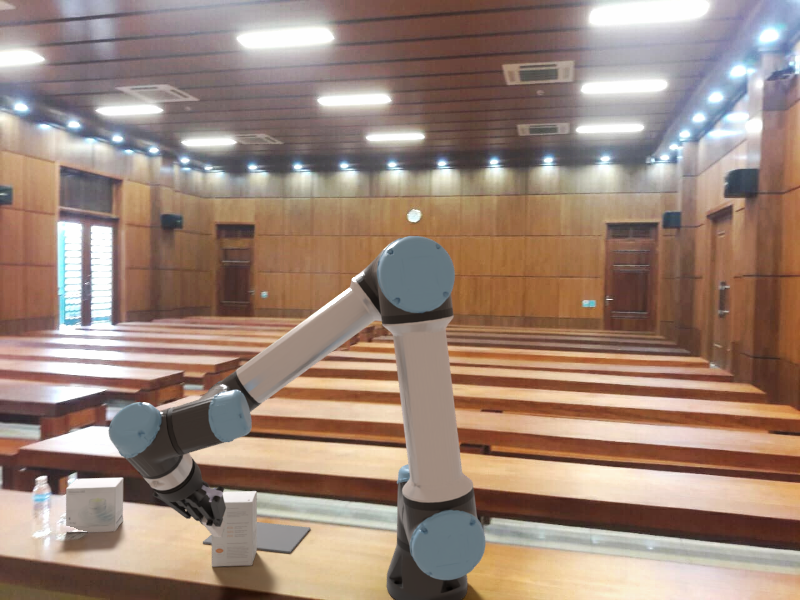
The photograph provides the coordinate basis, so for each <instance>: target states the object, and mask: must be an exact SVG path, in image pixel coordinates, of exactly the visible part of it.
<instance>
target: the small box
mask: <svg viewBox="0 0 800 600" xmlns="http://www.w3.org/2000/svg"><path fill="white" fill-rule="evenodd" d="M257 497H258V496H257V491H256V490H252V491H250V490H247V491H243V490H242V491H223V498H224V502H225V506H226V510H225V513H224V515H223V521H224V522H225V526H224V529H223V531H222V534H221V537H214V536H213V535H212V534H211V535H212V544H211V567H212V568H213V567H216V568H217V567H238V566H239V567H240V566H253V563H254V560H255V558H256V554H257V551H258V550H257V522H258V517H257V516H258V515H257V513H258V510H257V509H258V502H257V500H258V498H257Z"/></svg>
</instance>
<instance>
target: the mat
mask: <svg viewBox="0 0 800 600" xmlns="http://www.w3.org/2000/svg"><path fill="white" fill-rule="evenodd" d="M308 531H311V527H307V526H301V525H290V524H288V525H287V524H279V523H270V522H262V521H257V551H266V552H268V551H269V552H275V553H282V554H283V553H284V554H285V553H286V554H291V553H292V552H293V551H294V550H295V548H296V547H297V546H298V545H299V544H300V543H301V541H302V540H303V539H304V538H305V536H306V535H307V534H308V533H309V532H308ZM202 544H203V545H204V544H205V545H212V534H210V535H209V536H208V537H206V538H205V539H204V540H203V541H202Z"/></svg>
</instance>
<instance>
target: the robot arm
mask: <svg viewBox="0 0 800 600" xmlns="http://www.w3.org/2000/svg"><path fill="white" fill-rule="evenodd" d="M455 273H456V271H455V267H454V262H453V259H452V258H451V256H450V254H449V253H448V251H447V250H446V249H445V248H444V247H443V246H442V245H441V244H440V243H438V242H436V240H433V239H432V238H428V237H425V236H420V235H408V236H405V237H400V238H399V237H398V238H397V239H395V240H393V241H391V242H390V243H389V244H387V246H386V247H385V248H383V249H382V250H381V251H380V253H379V254H378V255H377V256H376V257H375V258H374V259H373V260H372V261H371V262H370V264H368V265H367V266H366V267H365V268H364V269H363V270H361V271H360V272H359V273H358V274H356V275H355V276H354V277H352V278H351V281H350V285H349V287H348V288H347V289H346V290H344V291H343V292H341V293H340V294H338V295H337V296H336V297H334V298H333V299H332V300H330V301H329V302H327V303H326V304H325V305H323V306H322V307H320V309H318V310H316V311H315V312H314V313H312V314H311V315H310V316H308V317H307V318H305V319H304V320H303V321H301V322H300V323H299V324H297V325H296V326H295V327H293V328H292V329H290V330H289V331H288V332H286V333H285V334H283V335H282V336H281V337H280V338H279V339H277V340H275V341H274V342H272V344H270V345H268V346H267V347H265V349H263V350H262V351H260V352H259V353H258V354H256V355H255V356H254V357H252V358H250V360H248V361H246V362H245V363H243V364H242V365H241V366H240V367H238V368H237V369H236V370H235V371H234V372H232V373H230V374H229V375H227V376H226V377H225V378H223V379H222V380H220V381H218V382H216V383H215V384H214V385H212V386H211V387H210V388H209V389H208V391H207V392H206V393H204V394H203V395H202V396H201V397H200V398H199V399H197V400H196V399H195V400H194V401H190V402H186V403H183V404H181V405H177V406H173V407H168V408H165V409H162V410H159V409H158V408H157V407H155V406H154V405H153V404H151V403H150V402H140V401H139V402H133V403H130V404H128V405H125V406H124V407H123V408H122V409H121V410H119V411H118V412H117V413H116V414H115V415H114V416H113V418H112V420H111V421H110V424H109V428H108V435H109V440H110V441H111V443H112V444H113V445H114V447H115V448H116V449H117V452H118V453H119V455H120V456H121V457H123V458H124V459H125V460H126V461H127V462H128V463H129V464H130V465H132V467H133V468H134V469H135V470H136V471H137V473H138V474H139V475H140V476H141V477H142V478H143V479H144V480H145V481H146V482H147V484H149V487H150V488H151V489H152V490H153V493H152V496H153V497H154V498H155V499H156V498H157V499H158V500H161V501H162V502H163V503H165V504H167V506H169V507H170V508H171V509H173V510H174V511H175V512H177V513H178V514H180V515H181V516H182V517H183V518H185V519H186V520H187V519H188V520H189V519H191V518H193V519H194V521H197V522H199V523H200V524H201V525H202V526H204V528H205V529H206V530H207V531H208V532H209V534H210V535H213V536H214V537H221V534H222V531H223V529H224V526H225V522H224V521H223V515H224V513H225V510H226V506H225V502H224V498H223V492H225V487H223V486H220V485H219V486H217V487H210V485H209V483H208V482H206V481H205V480H204V479H203V477H202V471H201V468H200V466H199V465H198V463H197V462H196V461H195V459H194V458H193V457H192V455H191V454H190V453H194V452H196V451H199V450H204V449H207V448H211V447H214V446H218V445H221V444H224V443H225V444H226V443H231V442H233V441H235V440H237V439H240V438H241V437H244V436H247V435H249V433H250V432H252V431H251V430H252V416H251V415H252V411H254V410H255V409H256V408H258V407H259V406H261V405H262V403H264V402H265V401H267V400H269V399H270V398H271V397H273V396H274V395H275V394H277V393H278V392H280V391H281V390H282V389H283V388H285V387H286V386H287V385H289V384H290V383H292V382H293V381H294V380H295V379H298V377H300V376H301V375H302V374H304V373H305V372H306V371H308V370H310V369H311V368H312V367H313V366H315V365H317V363H319V362H320V361H322V360H323V359H325V358H326V357H327V356H328V355H330V354H332V353H333V352H334V351H335V350H337V349H338V348H340V347H341V346H342V345H343V344H345V343H346V342H347V341H349V340H350V339H352V338H353V337H355V335H358V333H360V332H361V331H363V330H365V328H367V327H368V326H369V325H371V324H372V323H373V322H376V321H377V322H381V325H382V326H383V327H384V328H385V329H386V330H388V332H390V333H391V334H392V336H393V337H392V338H393V346H394V347H393V348H394V354H395V355H394V356H395V362H396V363H395V364H396V373H397V380H398V381H397V382H398V388H399V397H400V398H399V399H400V404H401V412H402V413H401V414H402V423H403V432H404V438H405V439H404V440H405V447H406V453H407V454H406V455H407V464H405V465H402V466H401V467H400V468H399V470H398V474H397V481H396V484H397V504H396V505H397V510H396V511H397V512H396V515H397V516H396V517H397V518H396V546H395V549H394V551H393V554H392V557H391V561H390V563H389V566H388V570H387V572H386V573H387V574H386V590H387V592H388V594H389V595H390V596H391V597H392V598H393V599H395V600H463V599H464V598H465V597H466V595H467V593H468V574H469V573H471V572H472V571H473V570H474V569H475V567H476V566H477V565H478V564H480V562H481V561H482V558H483V556H484V554H485V550H486V545H487V544H486V535H485V530H484V528H483V524H482V523H481V522H480V520H479V519H478V515H477V513H478V512H477V507H476V506H477V505H476V497H475V491H474V482H473V480H472V479H471V478H470V477H468V476H467V475H466V474H465V473H463V467H462V458H461V450H460V442H459V441H460V440H459V433H458V424H457V416H456V408H455V407H456V406H455V398H454V390H453V382H452V381H453V380H452V373H451V372H452V371H451V362H450V356H449V347H448V339H447V330H446V329H447V327H448V325H449V324H450V322H451V321H452V320H453V319H454V318H455V317H454V306H453V299H452V292H453V289H454V284H455V278H456V274H455Z"/></svg>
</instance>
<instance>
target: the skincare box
mask: <svg viewBox="0 0 800 600" xmlns="http://www.w3.org/2000/svg"><path fill="white" fill-rule="evenodd" d="M65 489H66V490H65V495H66V496H65V501H66V502H65V527H66V526H70V527H74V528H76V529H78V530H83V531H87V532H88V533H104V532H105V533H108V532H109V533H110V532H116V531H117V530H118V528H119V526H121V524H122V523H123V522H124V514H123V513H124V477H99V478H98V477H97V478H96V477H95V478H92V477H91V478H75V479H74V480H73V481H72V482H71V483H70V484H69V485H68V486H67V487H66V488H65Z"/></svg>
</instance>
